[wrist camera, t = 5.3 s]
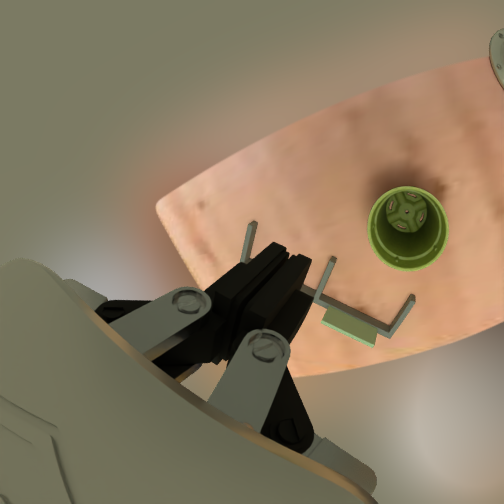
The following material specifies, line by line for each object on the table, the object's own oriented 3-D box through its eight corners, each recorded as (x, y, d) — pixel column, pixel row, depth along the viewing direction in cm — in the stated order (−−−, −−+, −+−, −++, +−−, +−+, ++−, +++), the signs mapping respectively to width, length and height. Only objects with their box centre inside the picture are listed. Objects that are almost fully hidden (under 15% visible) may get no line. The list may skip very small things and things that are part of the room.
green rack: (253, 220, 44) (234, 232, 40) (415, 295, 35) (415, 318, 31) (244, 260, 49) (226, 275, 44) (390, 332, 40) (387, 355, 35)
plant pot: (365, 231, 36) (357, 255, 29) (382, 166, 31) (379, 174, 25) (425, 252, 32) (430, 282, 26) (446, 189, 28) (460, 204, 21)
